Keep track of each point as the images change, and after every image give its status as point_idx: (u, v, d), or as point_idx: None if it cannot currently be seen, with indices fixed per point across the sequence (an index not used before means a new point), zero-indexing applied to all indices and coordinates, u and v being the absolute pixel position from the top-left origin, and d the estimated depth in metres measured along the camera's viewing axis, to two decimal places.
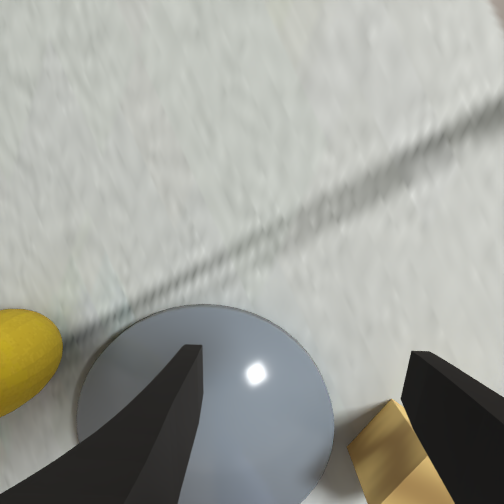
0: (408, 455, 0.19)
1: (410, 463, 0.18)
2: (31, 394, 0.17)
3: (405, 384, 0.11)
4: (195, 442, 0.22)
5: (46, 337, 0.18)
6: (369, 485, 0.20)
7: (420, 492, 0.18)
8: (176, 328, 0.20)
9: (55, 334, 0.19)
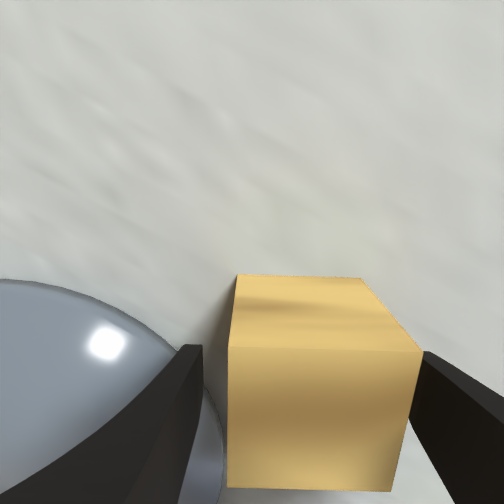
0: None
1: None
2: None
3: None
4: None
5: None
6: None
7: (276, 416, 0.09)
8: None
9: None
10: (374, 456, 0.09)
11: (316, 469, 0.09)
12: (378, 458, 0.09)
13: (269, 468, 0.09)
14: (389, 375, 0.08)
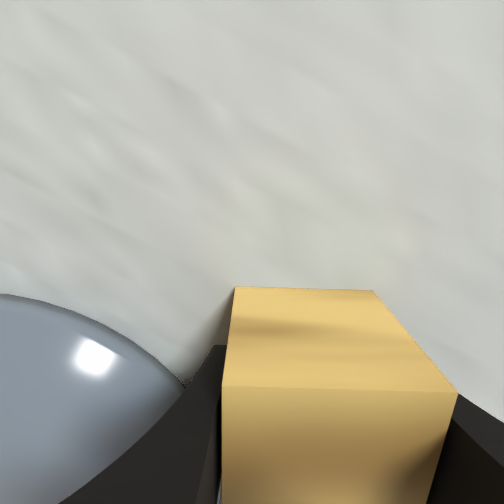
0: None
1: None
2: None
3: None
4: None
5: None
6: None
7: (279, 464, 0.07)
8: None
9: None
10: None
11: None
12: None
13: None
14: (416, 419, 0.07)
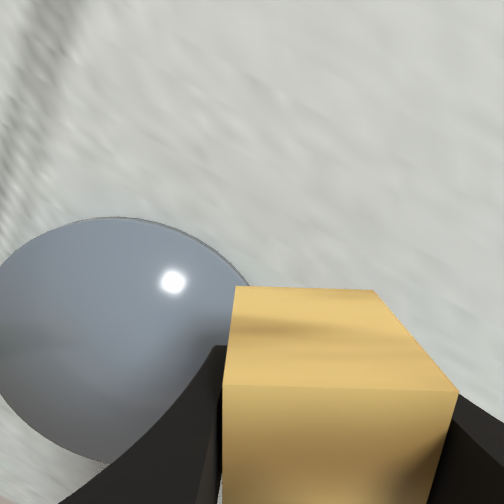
0: None
1: None
2: None
3: None
4: (128, 376, 0.20)
5: None
6: None
7: (279, 463, 0.07)
8: (14, 284, 0.18)
9: None
10: None
11: None
12: None
13: None
14: (416, 418, 0.07)
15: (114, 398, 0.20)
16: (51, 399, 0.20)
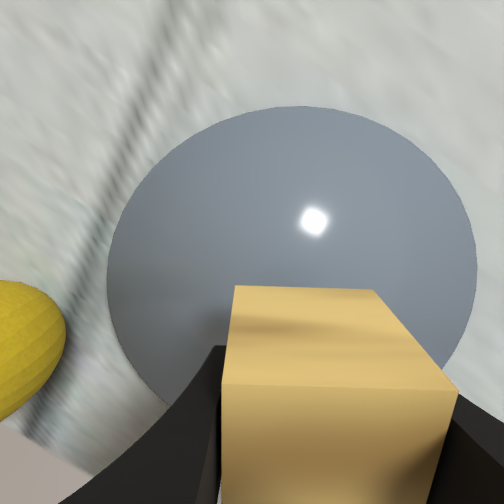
0: None
1: None
2: (29, 364, 0.12)
3: None
4: None
5: (6, 293, 0.13)
6: None
7: (279, 463, 0.07)
8: (163, 198, 0.14)
9: (25, 289, 0.13)
10: None
11: None
12: None
13: None
14: (416, 417, 0.07)
15: None
16: (184, 355, 0.16)
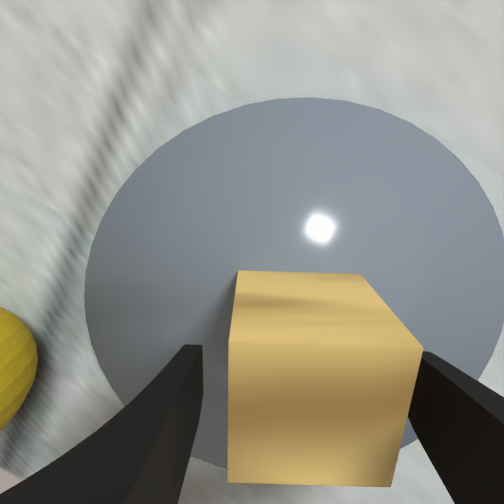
0: None
1: None
2: None
3: None
4: None
5: None
6: None
7: (276, 411, 0.09)
8: (147, 205, 0.12)
9: None
10: (374, 451, 0.09)
11: (316, 465, 0.09)
12: (378, 453, 0.09)
13: (269, 463, 0.09)
14: (389, 371, 0.08)
15: None
16: None
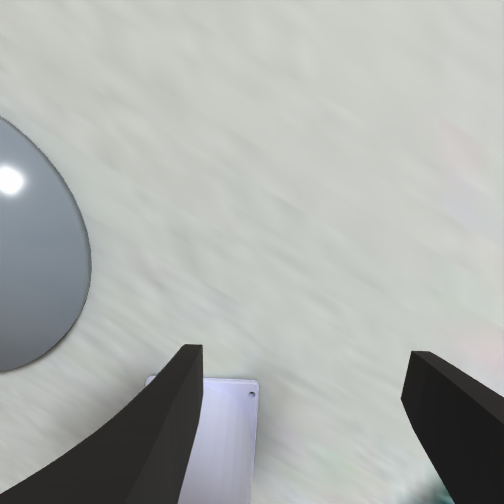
0: None
1: None
2: None
3: (405, 384, 0.11)
4: None
5: None
6: None
7: None
8: None
9: None
10: None
11: None
12: None
13: None
14: None
15: None
16: None
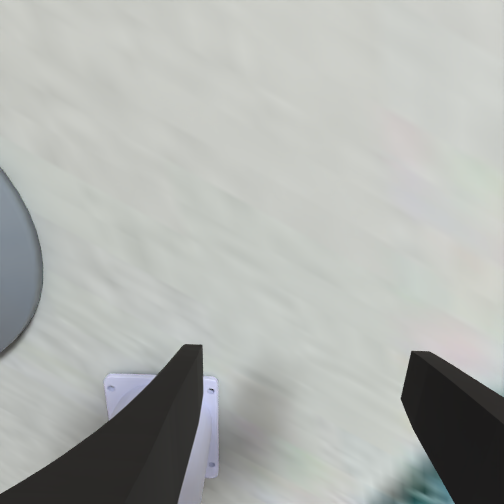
0: None
1: None
2: None
3: (405, 384, 0.11)
4: None
5: None
6: None
7: None
8: None
9: None
10: None
11: None
12: None
13: None
14: None
15: None
16: None
